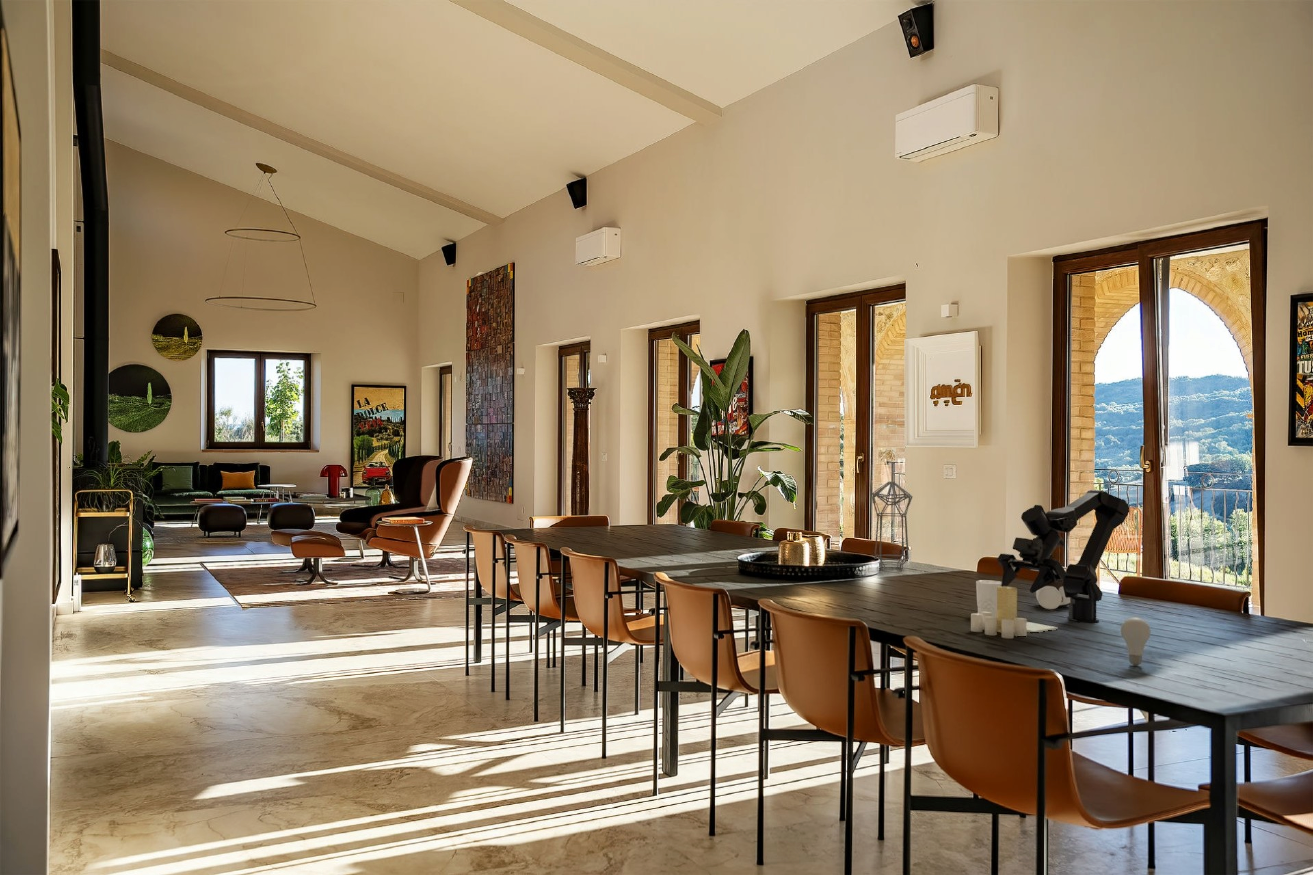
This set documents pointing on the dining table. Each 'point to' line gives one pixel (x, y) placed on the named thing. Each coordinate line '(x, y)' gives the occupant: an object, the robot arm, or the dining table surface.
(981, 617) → the spacers
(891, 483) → the geometric lantern
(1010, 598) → the brass post
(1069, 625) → the dining table surface
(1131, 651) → the lightbulb
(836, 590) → the dining table surface
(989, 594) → the white cup
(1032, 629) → the mat
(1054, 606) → the spread jar
